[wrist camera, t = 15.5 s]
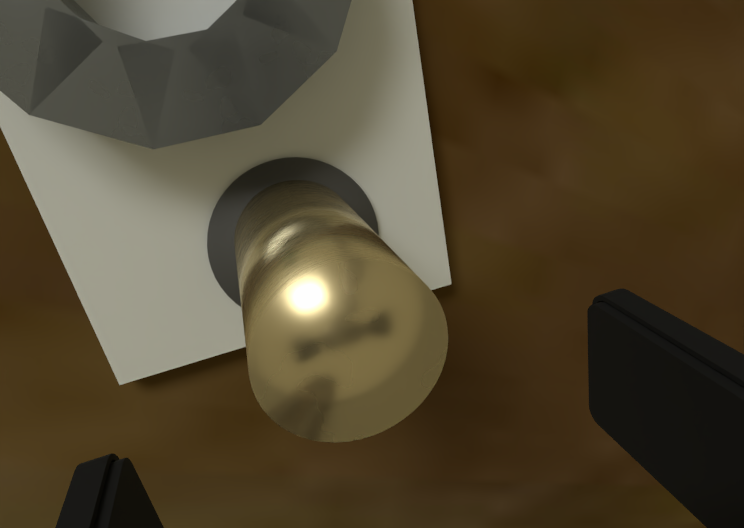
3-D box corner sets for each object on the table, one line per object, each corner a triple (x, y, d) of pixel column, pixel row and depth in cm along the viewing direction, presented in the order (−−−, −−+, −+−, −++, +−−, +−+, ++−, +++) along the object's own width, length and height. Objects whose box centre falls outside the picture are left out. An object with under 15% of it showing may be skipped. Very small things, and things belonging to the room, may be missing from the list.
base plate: (354, -341, 17) (364, -372, 15) (443, 276, 25) (454, 286, 24) (-184, -306, 14) (-221, -342, 13) (123, 372, 23) (118, 389, 21)
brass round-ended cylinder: (343, 166, 21) (433, 235, 12) (366, 278, 23) (458, 405, 14) (217, 197, 20) (221, 295, 11) (253, 311, 22) (279, 468, 13)
